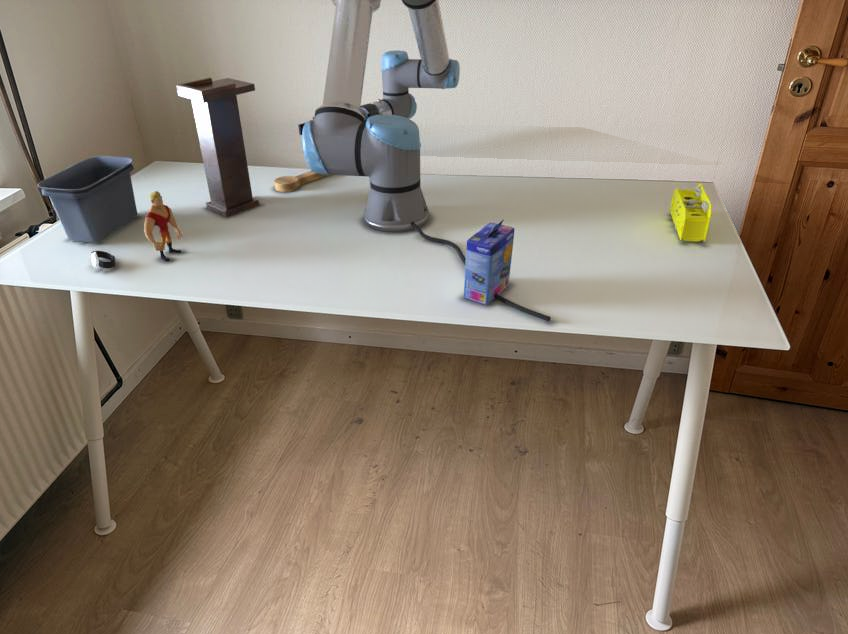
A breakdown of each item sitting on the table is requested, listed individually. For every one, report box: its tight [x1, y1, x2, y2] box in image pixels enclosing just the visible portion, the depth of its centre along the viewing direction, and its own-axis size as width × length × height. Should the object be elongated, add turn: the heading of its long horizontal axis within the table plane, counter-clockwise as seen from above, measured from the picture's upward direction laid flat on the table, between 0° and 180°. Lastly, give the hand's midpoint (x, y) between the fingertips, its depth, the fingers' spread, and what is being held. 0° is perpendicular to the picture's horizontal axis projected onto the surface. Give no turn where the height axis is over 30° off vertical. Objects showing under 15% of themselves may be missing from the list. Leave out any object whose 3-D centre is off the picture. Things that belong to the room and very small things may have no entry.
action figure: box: [143, 190, 184, 262], centre depth 146 cm, size 10×4×15 cm, turn 158°
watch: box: [90, 250, 116, 270], centre depth 147 cm, size 8×5×4 cm, turn 40°
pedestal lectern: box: [175, 76, 260, 218], centre depth 165 cm, size 14×11×30 cm
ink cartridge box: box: [463, 219, 516, 306], centre depth 127 cm, size 10×6×14 cm, turn 146°
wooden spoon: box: [273, 170, 329, 193], centre depth 187 cm, size 22×6×2 cm, turn 134°
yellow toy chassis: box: [669, 182, 713, 243], centre depth 148 cm, size 16×6×8 cm, turn 168°
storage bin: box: [37, 155, 139, 244], centre depth 161 cm, size 21×16×14 cm
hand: (315, 134), depth 183 cm, fingers open, 13 cm apart
